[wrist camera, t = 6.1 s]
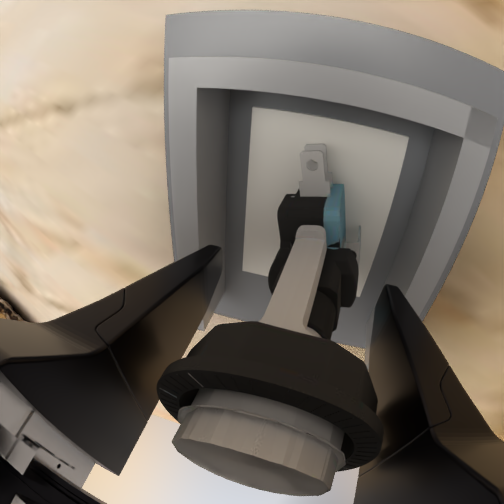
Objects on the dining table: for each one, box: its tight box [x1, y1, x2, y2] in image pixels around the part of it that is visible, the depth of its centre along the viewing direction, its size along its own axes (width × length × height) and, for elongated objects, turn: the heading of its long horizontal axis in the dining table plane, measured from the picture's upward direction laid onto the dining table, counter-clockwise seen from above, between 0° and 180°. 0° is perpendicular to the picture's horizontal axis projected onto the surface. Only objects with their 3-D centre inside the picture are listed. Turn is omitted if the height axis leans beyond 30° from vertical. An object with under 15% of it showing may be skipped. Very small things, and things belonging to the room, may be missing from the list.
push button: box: [156, 144, 384, 496], centre depth 9 cm, size 7×5×10 cm
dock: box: [164, 10, 504, 370], centre depth 12 cm, size 14×16×4 cm
